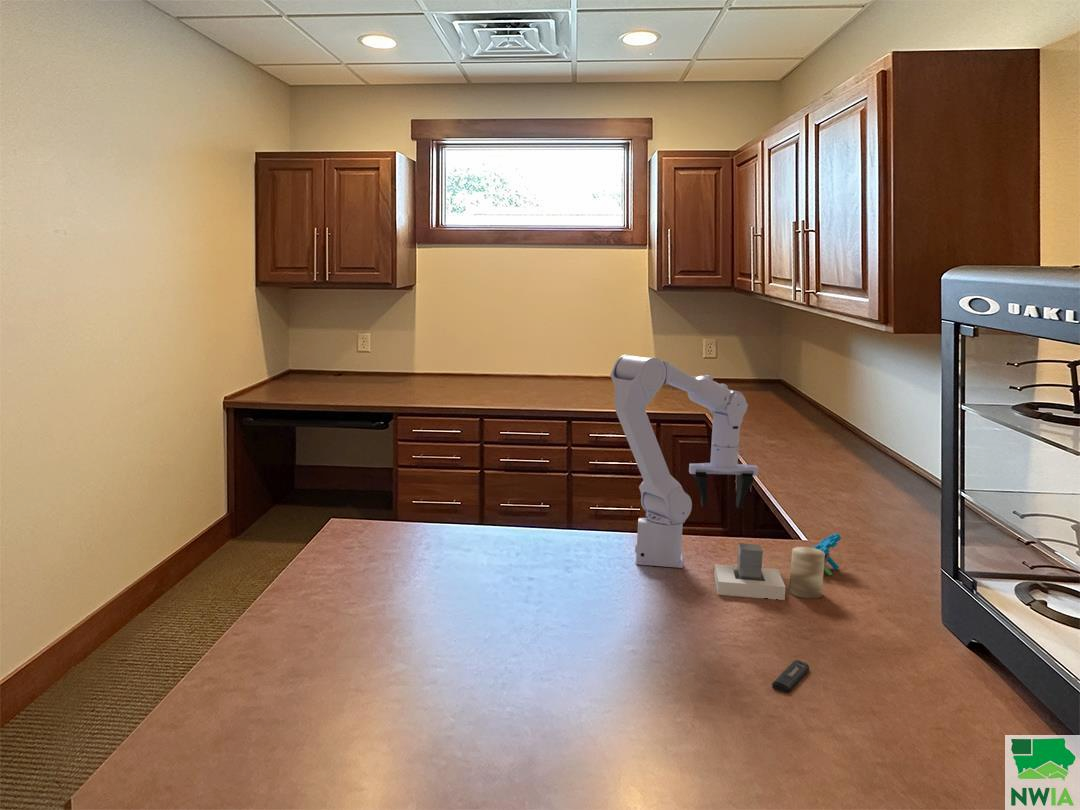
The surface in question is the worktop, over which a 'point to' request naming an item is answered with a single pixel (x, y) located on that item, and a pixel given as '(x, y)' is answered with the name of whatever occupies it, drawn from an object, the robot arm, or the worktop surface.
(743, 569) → the square peg
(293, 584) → the worktop surface
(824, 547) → the gear
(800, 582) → the round peg
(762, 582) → the socket block
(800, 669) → the usb stick
